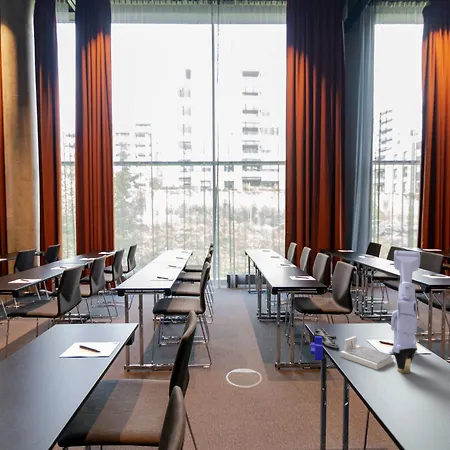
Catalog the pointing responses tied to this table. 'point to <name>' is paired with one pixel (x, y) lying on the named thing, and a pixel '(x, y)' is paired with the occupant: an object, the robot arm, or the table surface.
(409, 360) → the brass weight
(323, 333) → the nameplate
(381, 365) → the scale base
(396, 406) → the table surface
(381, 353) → the pan
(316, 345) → the blue stepped block
